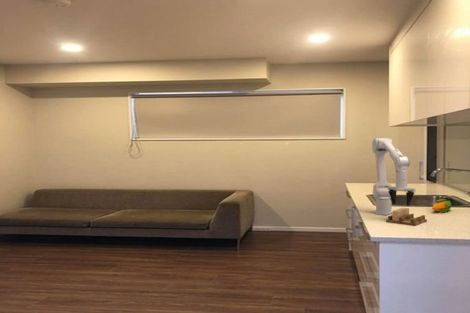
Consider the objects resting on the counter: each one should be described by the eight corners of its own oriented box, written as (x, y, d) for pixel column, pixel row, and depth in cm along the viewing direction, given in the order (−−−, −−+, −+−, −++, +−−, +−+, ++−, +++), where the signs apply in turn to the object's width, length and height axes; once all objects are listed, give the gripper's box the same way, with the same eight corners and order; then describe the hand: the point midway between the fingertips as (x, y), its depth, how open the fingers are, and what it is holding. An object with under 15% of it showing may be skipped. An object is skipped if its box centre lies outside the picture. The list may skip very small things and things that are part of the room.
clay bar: (403, 216, 237) (403, 207, 237) (409, 217, 235) (409, 208, 235) (392, 220, 227) (392, 210, 227) (397, 221, 225) (398, 211, 225)
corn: (454, 198, 262) (440, 201, 249) (454, 210, 262) (440, 214, 249) (441, 197, 268) (427, 201, 254) (442, 210, 268) (427, 214, 254)
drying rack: (399, 217, 240) (399, 212, 240) (426, 221, 229) (426, 215, 229) (386, 222, 228) (386, 216, 228) (414, 226, 218) (414, 219, 218)
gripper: (385, 178, 232) (384, 204, 233) (412, 180, 222) (411, 207, 223) (390, 177, 237) (390, 202, 238) (417, 179, 227) (417, 205, 228)
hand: (401, 204), depth 231 cm, fingers open, 7 cm apart
